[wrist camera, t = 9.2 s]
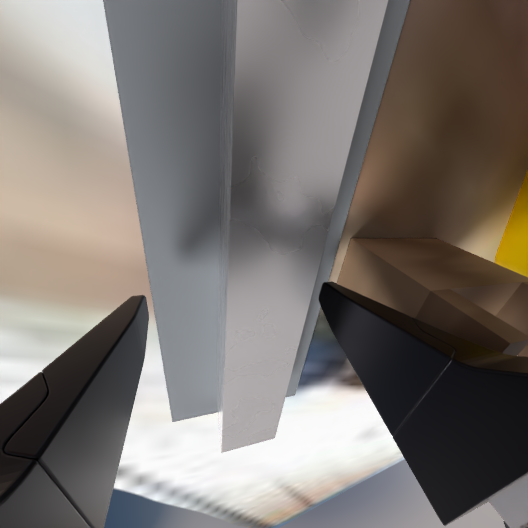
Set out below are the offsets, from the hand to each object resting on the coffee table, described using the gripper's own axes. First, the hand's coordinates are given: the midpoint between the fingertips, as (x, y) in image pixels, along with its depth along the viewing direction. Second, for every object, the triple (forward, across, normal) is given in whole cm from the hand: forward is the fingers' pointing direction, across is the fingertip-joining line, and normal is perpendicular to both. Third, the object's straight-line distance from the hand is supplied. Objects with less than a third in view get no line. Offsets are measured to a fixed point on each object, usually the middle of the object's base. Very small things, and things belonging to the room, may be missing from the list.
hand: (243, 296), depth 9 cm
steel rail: (+2, -1, 0) cm, 2 cm away
